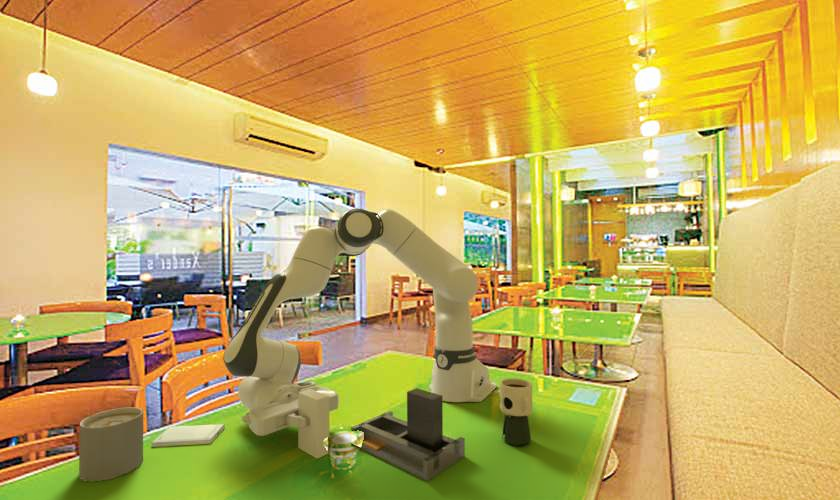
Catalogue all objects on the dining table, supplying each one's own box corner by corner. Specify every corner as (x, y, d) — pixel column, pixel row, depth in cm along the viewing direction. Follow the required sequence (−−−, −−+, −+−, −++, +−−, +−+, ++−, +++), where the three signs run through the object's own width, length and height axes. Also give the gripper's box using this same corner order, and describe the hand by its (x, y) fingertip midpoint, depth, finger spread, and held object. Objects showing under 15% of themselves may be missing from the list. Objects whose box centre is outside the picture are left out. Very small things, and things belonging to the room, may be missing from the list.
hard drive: (151, 442, 86) (210, 438, 88) (170, 425, 94) (224, 422, 96) (151, 449, 86) (210, 445, 88) (170, 432, 94) (224, 429, 96)
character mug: (491, 432, 92) (491, 376, 92) (519, 428, 94) (518, 374, 94) (513, 455, 82) (512, 392, 82) (543, 450, 83) (543, 389, 84)
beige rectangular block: (310, 442, 88) (310, 388, 88) (329, 453, 83) (329, 396, 83) (298, 447, 85) (298, 392, 85) (317, 458, 81) (317, 400, 81)
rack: (390, 426, 96) (389, 371, 96) (464, 456, 81) (464, 392, 82) (351, 444, 87) (351, 384, 87) (427, 481, 72) (427, 409, 72)
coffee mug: (132, 476, 75) (132, 423, 75) (67, 486, 71) (68, 431, 72) (155, 444, 87) (155, 399, 87) (101, 451, 84) (101, 404, 84)
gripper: (237, 402, 85) (269, 420, 76) (318, 379, 100) (353, 392, 91) (237, 432, 85) (269, 453, 76) (318, 404, 100) (353, 419, 91)
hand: (316, 419), depth 84 cm, fingers closed on beige rectangular block, 3 cm apart
